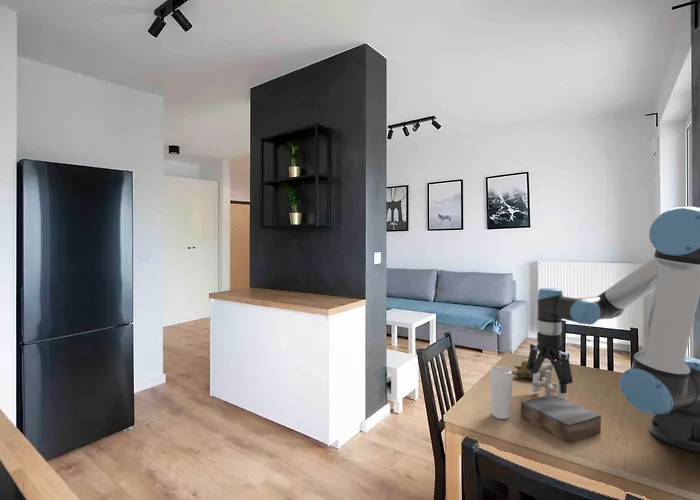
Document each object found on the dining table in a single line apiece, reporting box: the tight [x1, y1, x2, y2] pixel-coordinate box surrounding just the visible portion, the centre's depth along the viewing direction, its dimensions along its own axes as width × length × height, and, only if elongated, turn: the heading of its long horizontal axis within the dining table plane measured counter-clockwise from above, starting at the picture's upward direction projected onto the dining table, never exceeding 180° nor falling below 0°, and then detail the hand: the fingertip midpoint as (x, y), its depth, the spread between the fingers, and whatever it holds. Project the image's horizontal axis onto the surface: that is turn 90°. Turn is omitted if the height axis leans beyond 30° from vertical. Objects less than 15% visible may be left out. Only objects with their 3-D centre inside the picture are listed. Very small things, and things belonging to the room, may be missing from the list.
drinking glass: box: [489, 365, 514, 420], centre depth 120 cm, size 7×7×15 cm
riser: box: [520, 393, 602, 443], centre depth 115 cm, size 16×14×5 cm
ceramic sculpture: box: [513, 357, 554, 379], centre depth 153 cm, size 11×9×15 cm
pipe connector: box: [531, 370, 558, 396], centre depth 133 cm, size 10×10×10 cm
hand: (548, 396), depth 133 cm, fingers closed on pipe connector, 9 cm apart
